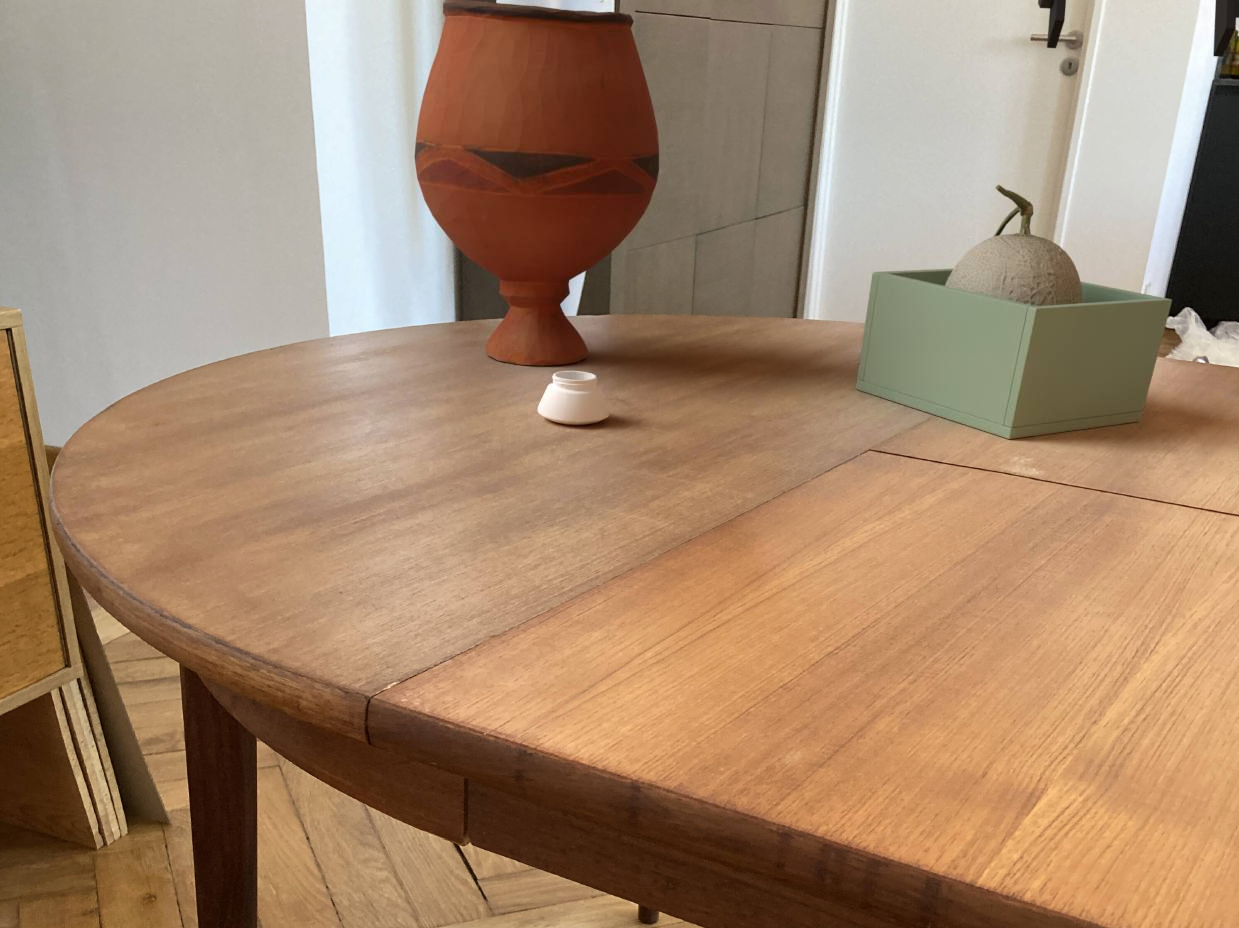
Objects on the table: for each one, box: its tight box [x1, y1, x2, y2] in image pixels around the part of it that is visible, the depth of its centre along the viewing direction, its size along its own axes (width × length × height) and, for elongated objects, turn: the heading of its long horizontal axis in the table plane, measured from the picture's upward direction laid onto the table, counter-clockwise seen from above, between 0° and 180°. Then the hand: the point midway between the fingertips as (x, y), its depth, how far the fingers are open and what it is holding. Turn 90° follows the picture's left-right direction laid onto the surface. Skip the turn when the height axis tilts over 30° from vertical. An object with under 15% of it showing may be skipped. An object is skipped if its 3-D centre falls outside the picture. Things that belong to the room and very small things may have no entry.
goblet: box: [414, 0, 660, 367], centre depth 100 cm, size 19×19×25 cm
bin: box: [855, 268, 1173, 440], centre depth 97 cm, size 17×15×9 cm
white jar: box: [537, 370, 610, 426], centre depth 88 cm, size 5×3×5 cm
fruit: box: [945, 184, 1083, 306], centre depth 95 cm, size 10×12×15 cm
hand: (1139, 39), depth 104 cm, fingers open, 13 cm apart
